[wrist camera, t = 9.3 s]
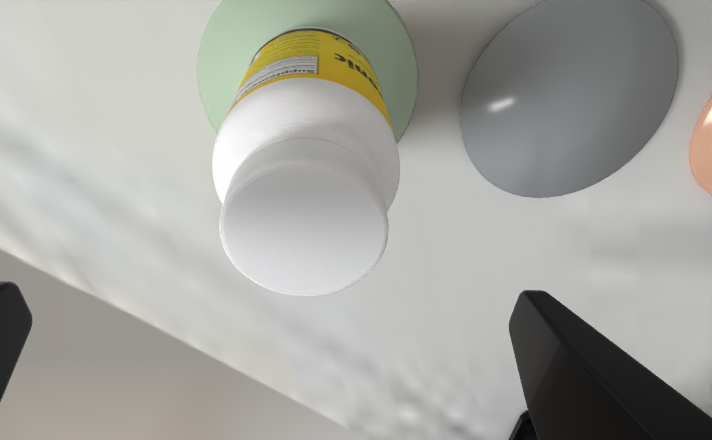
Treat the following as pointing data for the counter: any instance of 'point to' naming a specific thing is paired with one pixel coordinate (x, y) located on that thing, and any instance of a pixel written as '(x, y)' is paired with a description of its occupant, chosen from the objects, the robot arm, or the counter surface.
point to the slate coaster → (568, 94)
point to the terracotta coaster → (702, 149)
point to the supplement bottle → (306, 165)
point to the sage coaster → (301, 9)
